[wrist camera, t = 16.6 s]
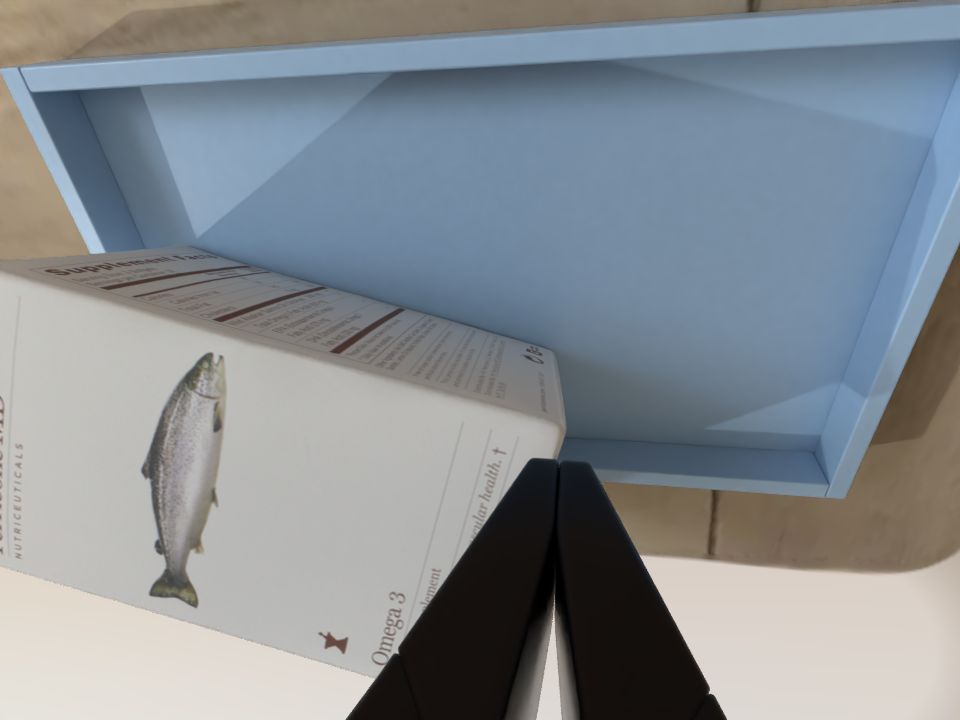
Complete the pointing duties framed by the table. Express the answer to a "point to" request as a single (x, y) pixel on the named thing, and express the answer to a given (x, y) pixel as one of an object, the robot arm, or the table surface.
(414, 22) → the table surface
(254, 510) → the white packaging box
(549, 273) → the tray
